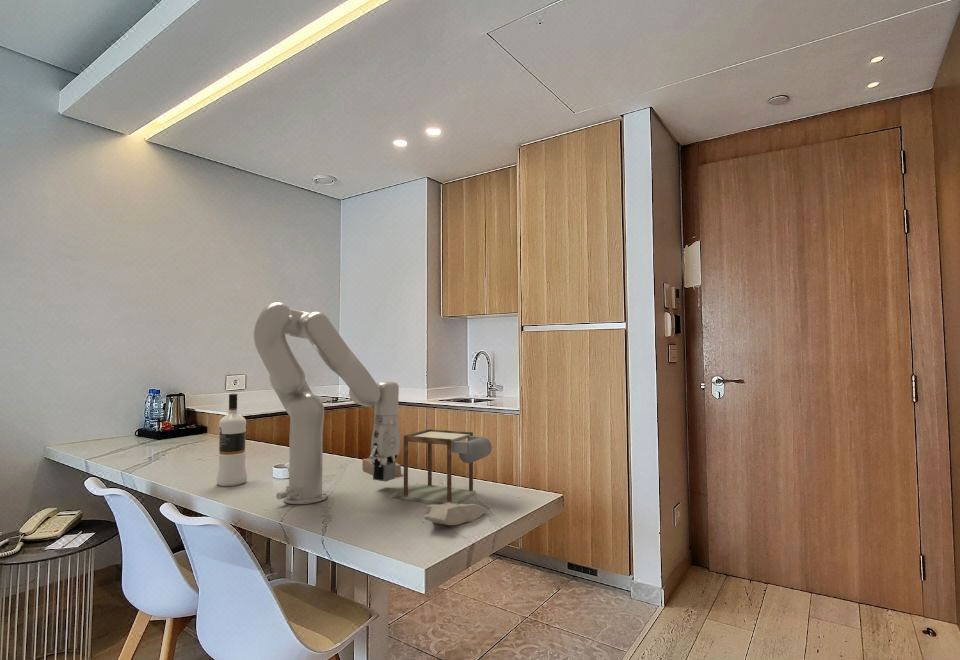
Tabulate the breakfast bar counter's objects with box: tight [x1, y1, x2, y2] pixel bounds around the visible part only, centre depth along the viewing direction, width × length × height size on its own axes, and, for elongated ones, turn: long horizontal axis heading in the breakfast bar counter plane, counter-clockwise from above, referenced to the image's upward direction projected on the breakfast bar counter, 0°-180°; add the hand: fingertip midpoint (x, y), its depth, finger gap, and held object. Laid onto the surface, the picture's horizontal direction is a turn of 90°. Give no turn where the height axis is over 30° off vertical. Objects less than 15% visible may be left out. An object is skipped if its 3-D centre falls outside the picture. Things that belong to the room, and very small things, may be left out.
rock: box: [423, 502, 487, 526], centre depth 139 cm, size 21×5×15 cm
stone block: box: [372, 461, 396, 483], centre depth 170 cm, size 5×5×5 cm
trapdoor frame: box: [390, 428, 476, 505], centre depth 162 cm, size 21×15×19 cm
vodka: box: [216, 393, 248, 487], centre depth 178 cm, size 9×9×30 cm
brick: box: [361, 457, 402, 478], centre depth 192 cm, size 17×8×5 cm, turn 36°
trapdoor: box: [416, 431, 493, 464], centre depth 160 cm, size 22×12×6 cm, turn 64°
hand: (384, 476), depth 170 cm, fingers closed on stone block, 5 cm apart
